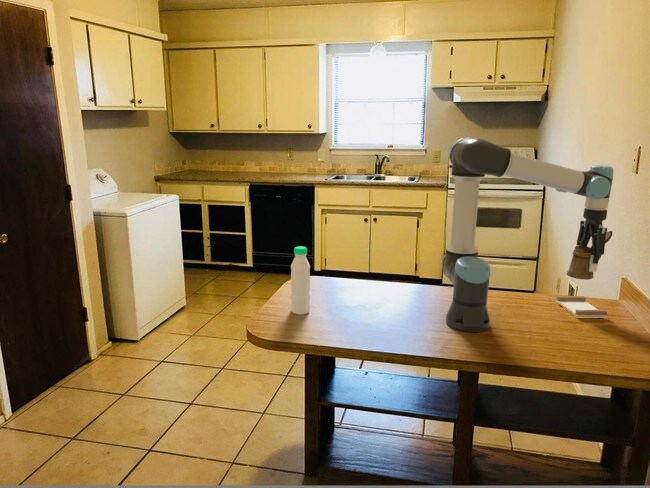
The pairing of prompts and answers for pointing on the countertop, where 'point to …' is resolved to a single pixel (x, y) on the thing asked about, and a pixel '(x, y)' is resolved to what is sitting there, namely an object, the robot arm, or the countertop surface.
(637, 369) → the countertop surface
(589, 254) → the wooden mug
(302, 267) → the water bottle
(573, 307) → the ledge board
